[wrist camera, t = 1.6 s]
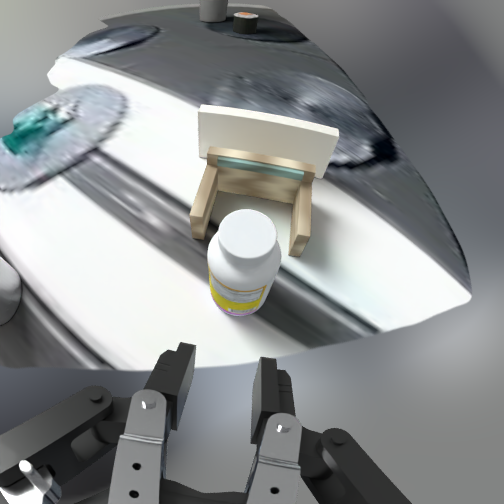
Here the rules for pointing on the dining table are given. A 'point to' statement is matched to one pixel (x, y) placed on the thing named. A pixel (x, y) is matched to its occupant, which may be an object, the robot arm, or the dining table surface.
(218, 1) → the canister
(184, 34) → the dining table surface
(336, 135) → the backstop board
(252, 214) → the supplement bottle
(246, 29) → the sushi
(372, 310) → the dining table surface
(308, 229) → the cradle
